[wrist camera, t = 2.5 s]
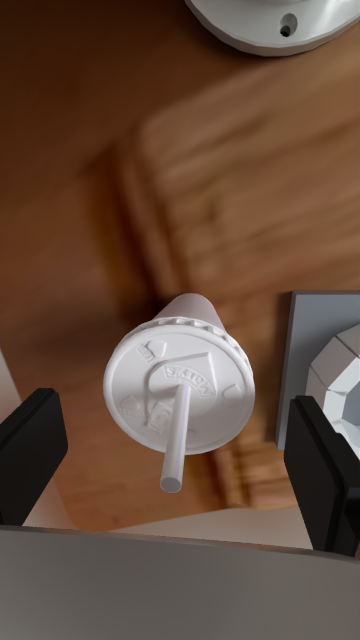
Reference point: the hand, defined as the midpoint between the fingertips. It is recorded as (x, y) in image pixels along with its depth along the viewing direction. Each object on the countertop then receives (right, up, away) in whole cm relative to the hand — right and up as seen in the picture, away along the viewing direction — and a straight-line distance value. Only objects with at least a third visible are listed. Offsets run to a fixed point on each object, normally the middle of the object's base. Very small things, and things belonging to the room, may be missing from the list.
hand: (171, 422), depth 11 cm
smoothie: (+1, +4, +9) cm, 10 cm away
